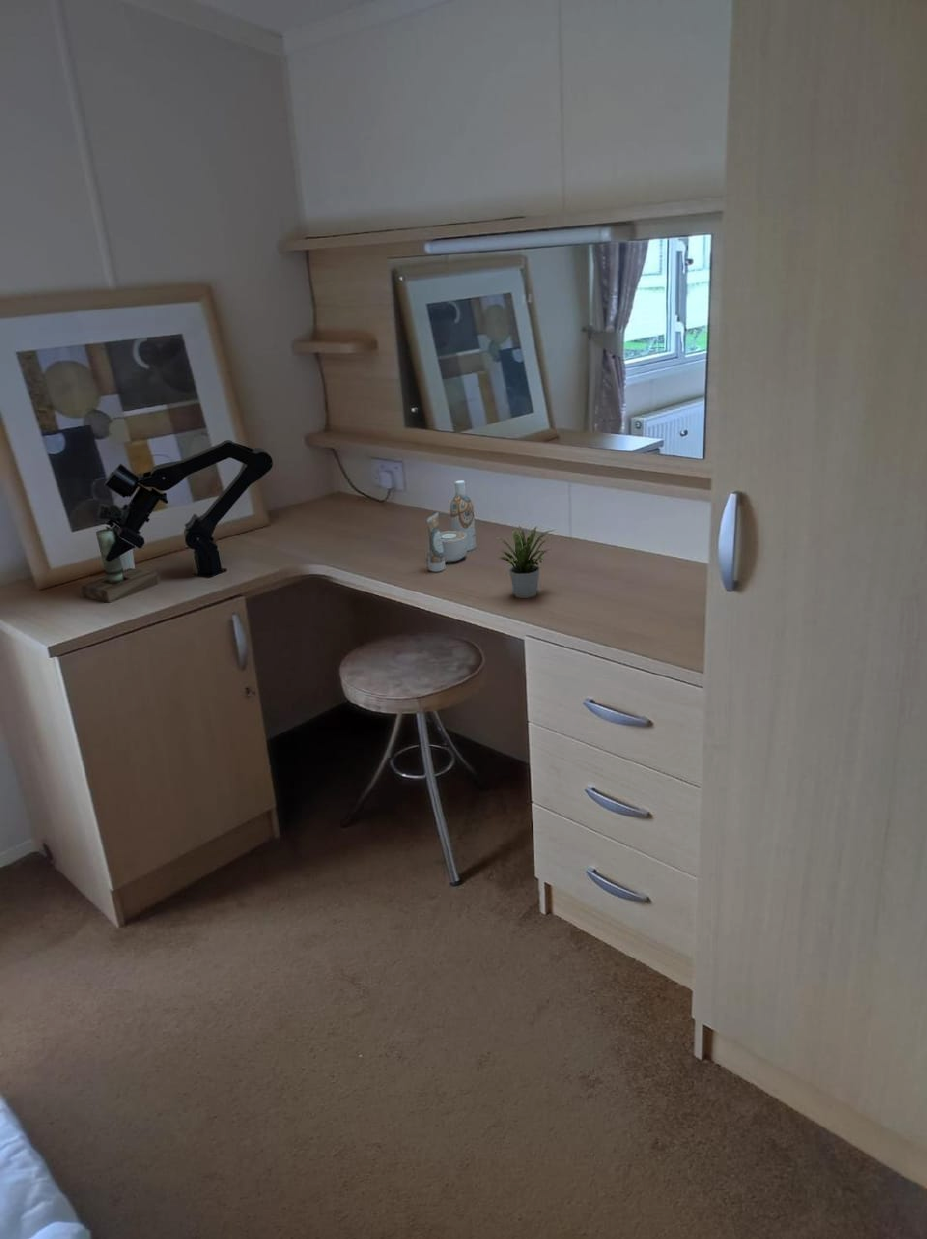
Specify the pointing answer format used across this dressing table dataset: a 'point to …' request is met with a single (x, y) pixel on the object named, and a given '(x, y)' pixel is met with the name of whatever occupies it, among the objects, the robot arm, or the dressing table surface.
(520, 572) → the house plant
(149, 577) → the board
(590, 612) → the dressing table surface
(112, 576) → the peg
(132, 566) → the shot glass
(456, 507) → the cosmetic set
